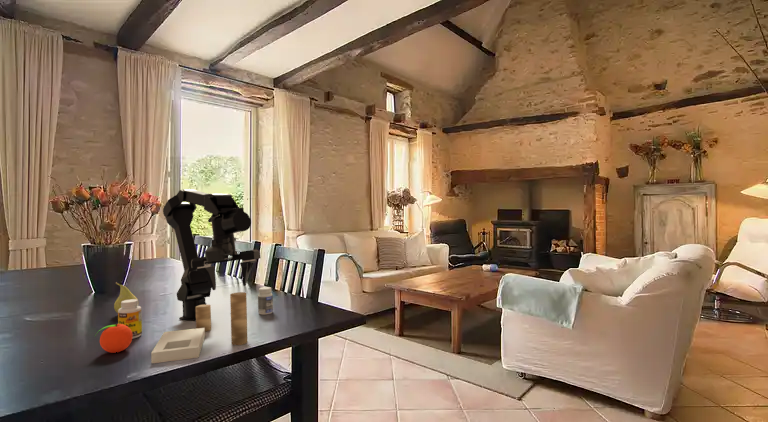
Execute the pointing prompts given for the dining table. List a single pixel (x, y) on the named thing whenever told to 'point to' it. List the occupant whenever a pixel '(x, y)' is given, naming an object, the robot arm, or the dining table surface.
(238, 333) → the long dowel
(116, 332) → the clementine
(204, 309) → the short dowel
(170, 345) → the hole plate
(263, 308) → the pill bottle
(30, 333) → the dining table surface
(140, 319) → the supplement bottle
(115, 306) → the fruit
